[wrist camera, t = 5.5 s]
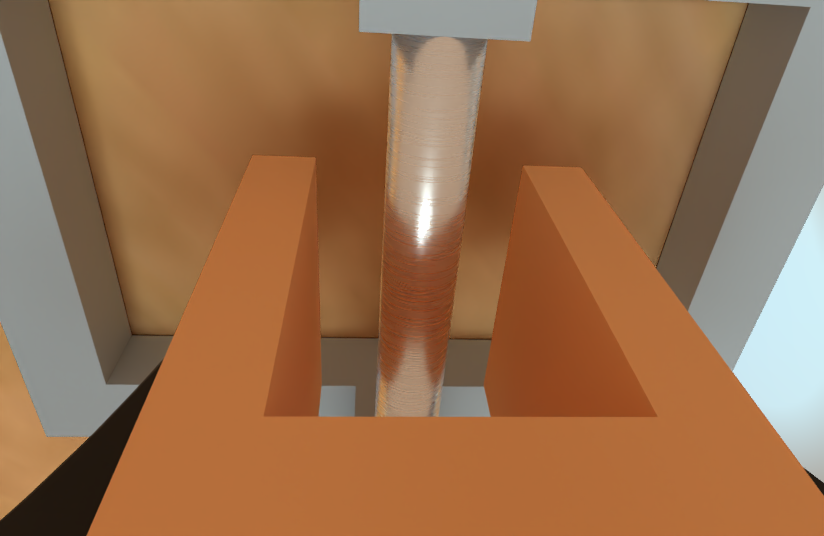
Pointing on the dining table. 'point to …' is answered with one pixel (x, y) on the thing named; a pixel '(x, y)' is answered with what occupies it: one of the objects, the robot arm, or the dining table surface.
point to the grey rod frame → (400, 211)
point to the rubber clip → (453, 436)
